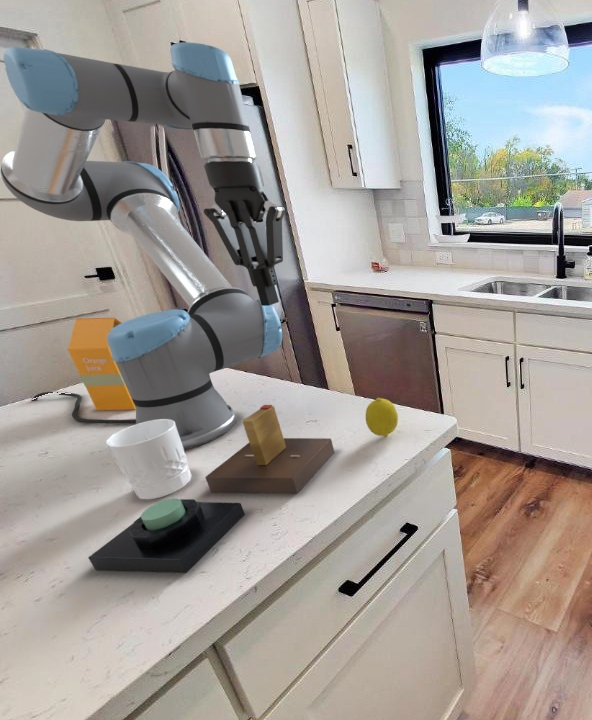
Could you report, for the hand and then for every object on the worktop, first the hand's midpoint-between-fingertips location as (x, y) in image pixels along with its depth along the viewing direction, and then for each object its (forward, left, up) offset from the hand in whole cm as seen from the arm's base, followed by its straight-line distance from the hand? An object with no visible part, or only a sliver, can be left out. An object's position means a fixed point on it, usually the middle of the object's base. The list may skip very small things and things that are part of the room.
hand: (270, 303), depth 76 cm
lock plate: (+6, -17, -24) cm, 30 cm away
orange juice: (-46, +8, -25) cm, 53 cm away
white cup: (-10, -21, -25) cm, 34 cm away
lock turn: (+6, -17, -21) cm, 28 cm away
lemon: (+20, -6, -25) cm, 32 cm away
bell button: (+2, -32, -21) cm, 38 cm away
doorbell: (+2, -32, -24) cm, 40 cm away
